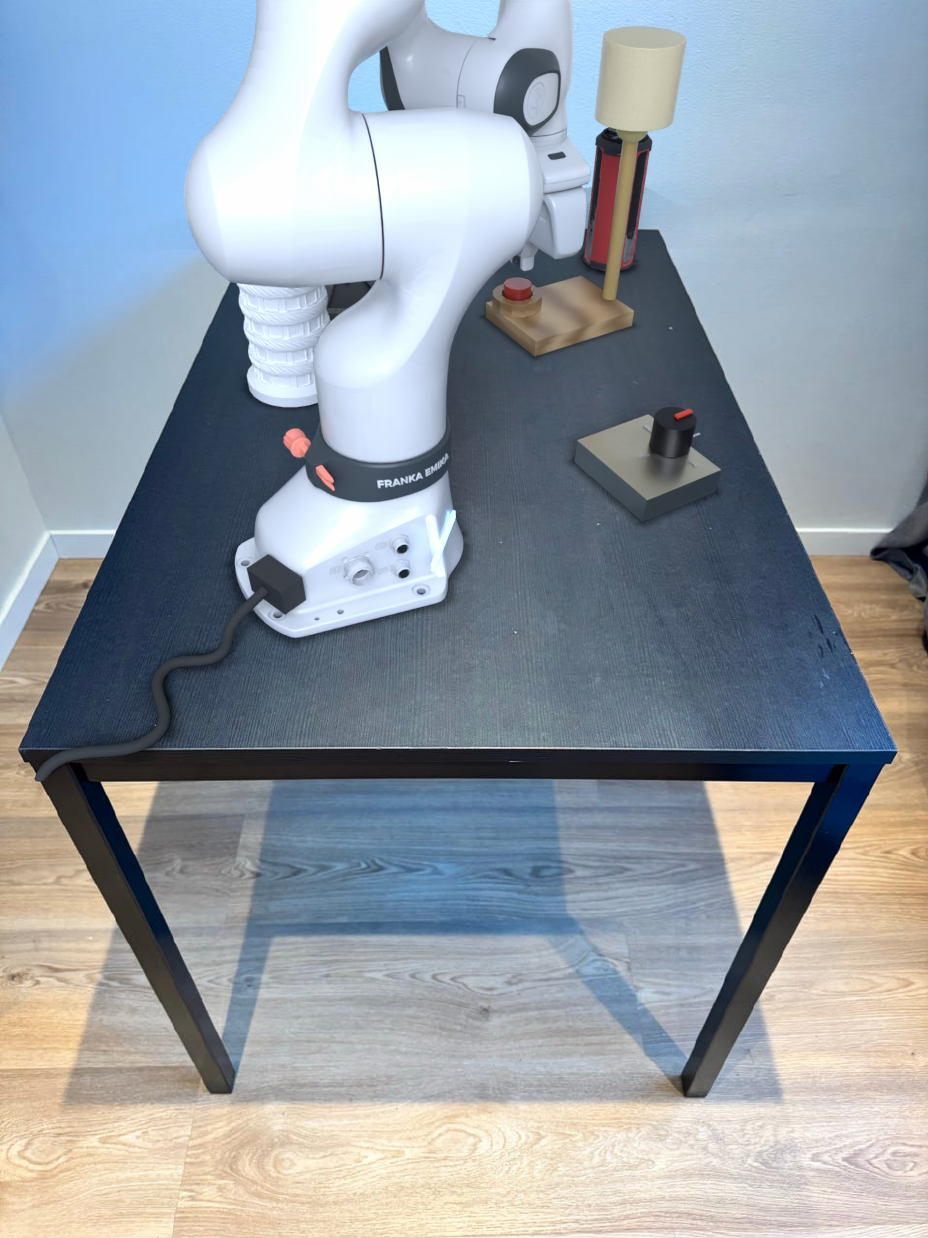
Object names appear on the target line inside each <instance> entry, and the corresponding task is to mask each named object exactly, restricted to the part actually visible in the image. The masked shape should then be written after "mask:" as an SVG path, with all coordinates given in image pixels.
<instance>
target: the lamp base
mask: <svg viewBox="0 0 928 1238" xmlns="http://www.w3.org/2000/svg"><path fill="white" fill-rule="evenodd" d="M634 314H635V310H634V309H632V308H631V307H629V306H628V305H626V304H625V303H623V301H620V300H618V299H617V297H616V298H615V299H614V300H606V299H604V298H603V289H602V288H601V287H599V286H598V285H596V284H594V283H593V282H591V281H590V280H589V279H587V278H585V277H584V276H582V275H579V276H575V277H570V278H567V279H564V280H561V281H557V282H554V283H553V282H552V283H549V284H546V285H542V286H539V287H537V286H536V285H534V284H531V297H530V299H527V300H524V301H512V300H509V299H506V298H505V297H504V283H503V284H499V285H497V286H496V287H495V288H494V289H492V297H491V300H490V301H486V302H485V318H486V319H487V320H488V321H490V322H491V323H492V324H493V325H495V326H496V327H497V328H499V330H501V331H502V332H504V333H505V334H506V335H507V336H508V337H509V338H511V339H512V340H513V341H515V342H516V343H518V345H520V346H521V347H522V348H523V349H525V350H526V351H527V352H528V353H530V355H532V356H533V357H537V356H541V355H543V354H547V353H550V352H553V351H556V350H559V349H563V348H566V347H569V346H572V345H575V344H578V343H582V342H585V341H587V340H591V339H594V338H598V337H600V336H605V335H606V334H610V333H614V332H616V331H620V330H623V329H626V328H630V327H632V326H633V321H634V316H635V315H634Z"/></svg>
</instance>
